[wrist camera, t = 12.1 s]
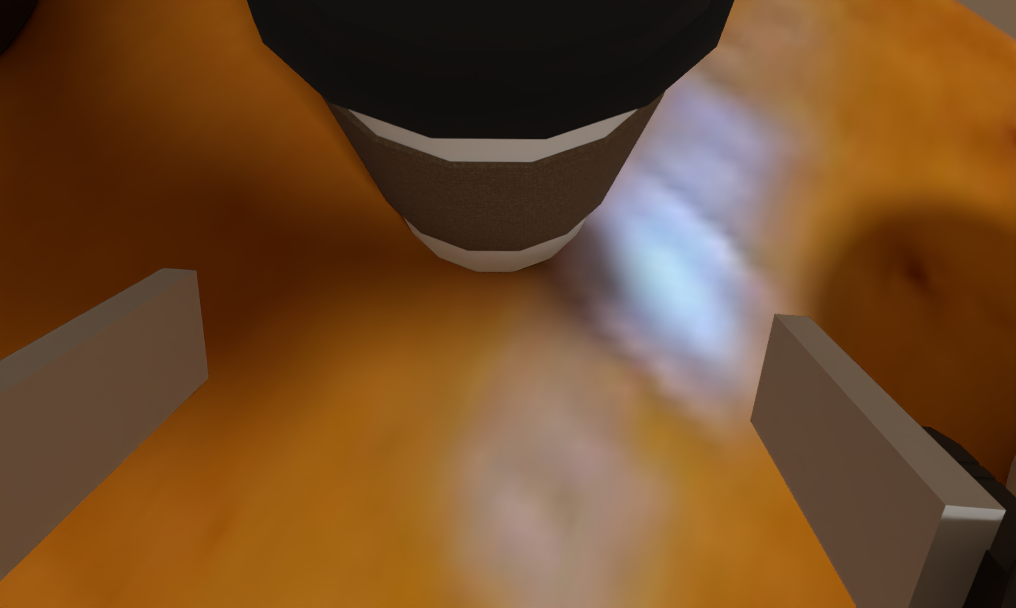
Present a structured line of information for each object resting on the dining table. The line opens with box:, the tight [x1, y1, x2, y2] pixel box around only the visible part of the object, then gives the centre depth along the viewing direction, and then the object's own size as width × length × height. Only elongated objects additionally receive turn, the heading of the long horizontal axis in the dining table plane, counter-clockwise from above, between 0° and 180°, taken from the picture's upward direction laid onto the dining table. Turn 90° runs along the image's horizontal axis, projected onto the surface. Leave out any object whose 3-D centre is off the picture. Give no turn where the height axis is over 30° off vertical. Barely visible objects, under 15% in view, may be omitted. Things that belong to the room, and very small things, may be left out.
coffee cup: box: [247, 0, 734, 272], centre depth 18 cm, size 11×11×12 cm
